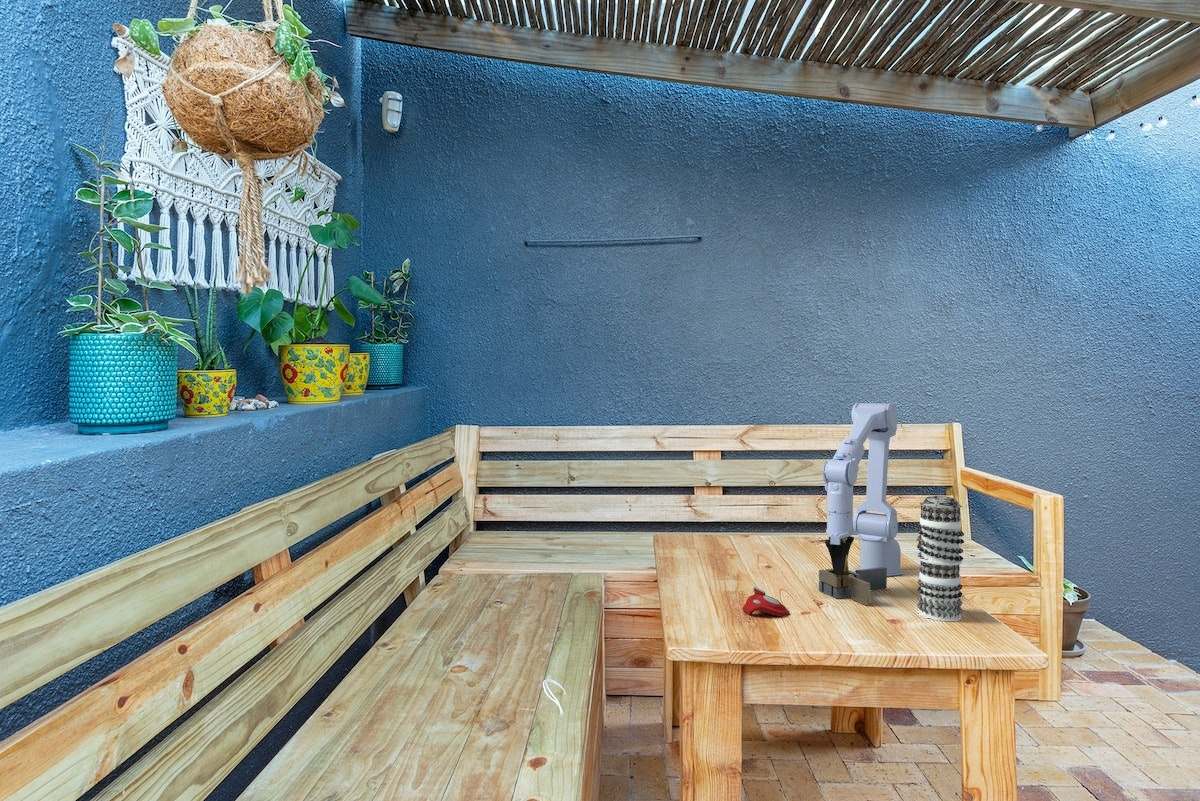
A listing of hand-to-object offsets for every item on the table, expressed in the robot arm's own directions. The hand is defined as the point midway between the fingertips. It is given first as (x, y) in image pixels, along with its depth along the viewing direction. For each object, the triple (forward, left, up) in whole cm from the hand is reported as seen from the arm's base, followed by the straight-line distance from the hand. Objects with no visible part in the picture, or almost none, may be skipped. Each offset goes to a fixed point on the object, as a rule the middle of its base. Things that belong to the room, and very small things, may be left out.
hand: (839, 569), depth 168 cm
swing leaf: (0, +3, -5) cm, 6 cm away
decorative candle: (-10, +20, -6) cm, 23 cm away
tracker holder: (+23, +4, -6) cm, 24 cm away
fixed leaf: (-5, 0, -6) cm, 7 cm away
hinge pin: (0, +1, -1) cm, 1 cm away
